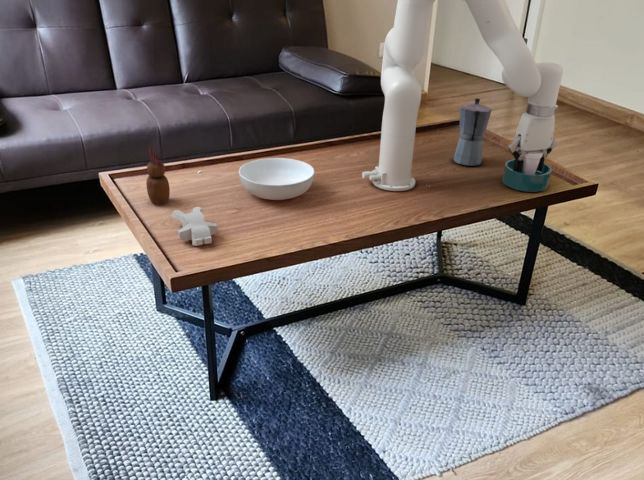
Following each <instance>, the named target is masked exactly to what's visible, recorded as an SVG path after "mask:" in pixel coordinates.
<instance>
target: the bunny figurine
mask: <svg viewBox="0 0 644 480" xmlns="http://www.w3.org/2000/svg"><path fill="white" fill-rule="evenodd" d="M171 217H172V219H175V220H176V221H177V220H178V221H180V222H181V226H182V227H181V228H179V229H177V236H178V239H179V240H187V241H188V240H189V241H191V244H192V246H196V247H197V246H203V245H208V244H212V243H213V239H212V236H213V235H215V234H217V233H218V232H219V231H218V224H217V223H215V222H210V221H205V217H204V210H203V209H202V207H200V206H195V207H193V208H192V211H190V212H186V213H185V212H183V211H181V210H179V209H175V210H173V212H172V214H171Z"/></svg>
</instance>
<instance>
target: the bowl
mask: <svg viewBox="0 0 644 480" xmlns="http://www.w3.org/2000/svg"><path fill="white" fill-rule="evenodd" d="M514 161H515V158H513V159H508V160H507V161H505V163H504V167H503V168H504V169H503V172H502V173H503V174H502V178H501V182H502V183H503V184H504V185H505V186H506V187H509V188H510V189H513V190H516V191H520V192H526V193H536V192H542V191H545V190H547V189H548V188H549V184H550V181H551V176H552V171H553V167H551V166H550V165H548V164H547V163H545V162H544V164H543V168H542V171H538V170H537V169H536V172H535V175H530V174H523V173H520V172H516V171H514V170H513V166H514Z"/></svg>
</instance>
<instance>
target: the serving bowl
mask: <svg viewBox="0 0 644 480" xmlns="http://www.w3.org/2000/svg"><path fill="white" fill-rule="evenodd" d="M315 172H316V171H315V169H314V167H313V166H312V165H310V164H309V163H308V162H306V161H302V160H298V159H294V158H287V157H267V158H259V159H254V160H250V161H248V162H245V163H244V164H242V165H241V166H240V167H239V169H238V176H239V181H240V183H241V185H242V187H243V188H244V189H245V190H246V191H247V192H248V193H249V194H251V195H252V196H255V197H257V198H259V199H264V200H271V201H283V200H290V199H294V198H297V197H299V196H301V195H303V194H304V193H306V192H307V191H308V190H309V189H310V187H311V186H312V184H313V181H314V179H315V174H316V173H315Z"/></svg>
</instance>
